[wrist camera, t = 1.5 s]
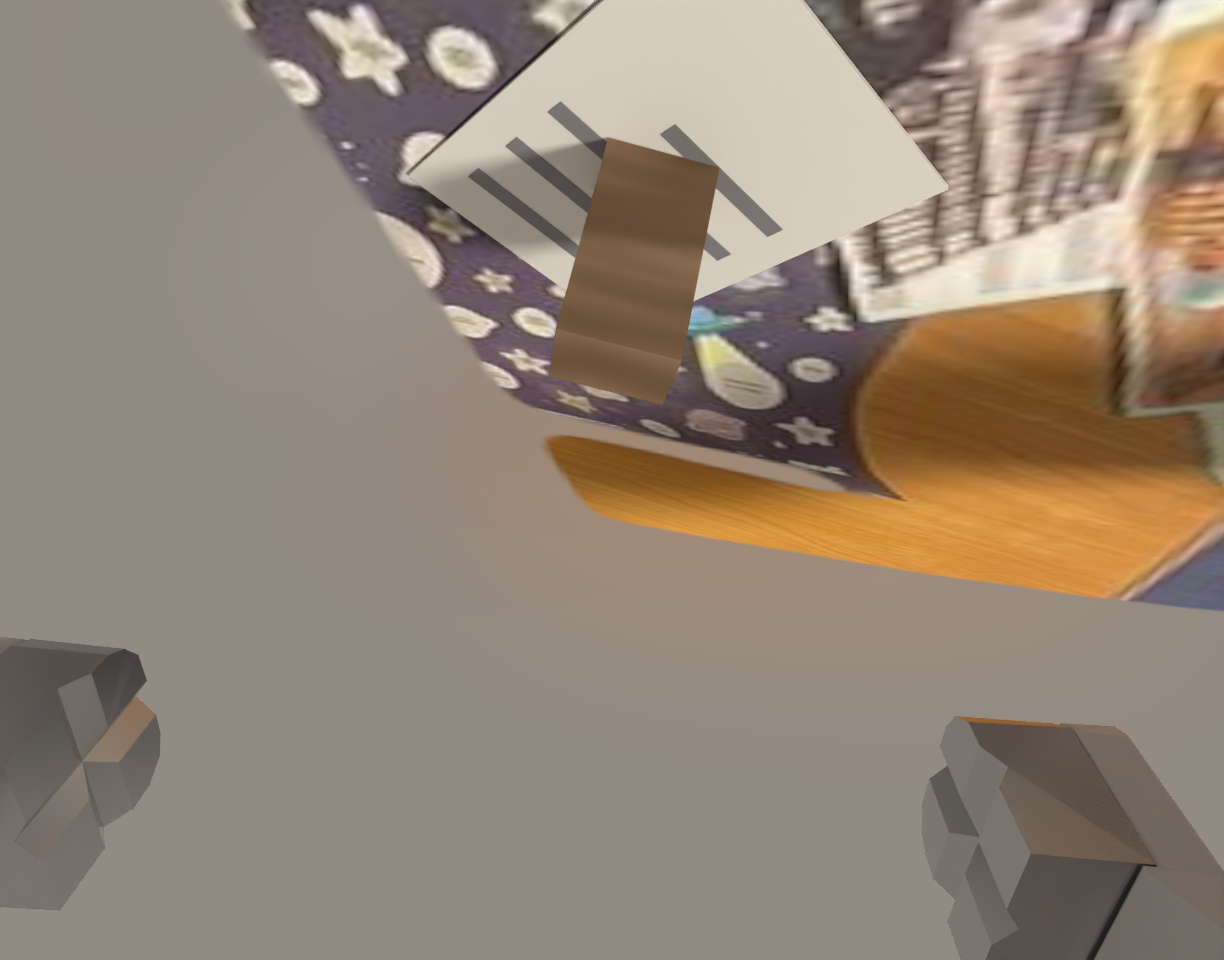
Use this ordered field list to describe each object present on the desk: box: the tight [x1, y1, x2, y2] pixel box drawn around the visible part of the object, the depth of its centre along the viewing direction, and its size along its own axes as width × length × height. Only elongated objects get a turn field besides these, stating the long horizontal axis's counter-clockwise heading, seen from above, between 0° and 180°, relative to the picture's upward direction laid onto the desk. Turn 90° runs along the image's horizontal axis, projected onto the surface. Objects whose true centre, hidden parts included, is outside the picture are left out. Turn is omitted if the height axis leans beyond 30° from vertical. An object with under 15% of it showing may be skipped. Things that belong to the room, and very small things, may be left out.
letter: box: [408, 0, 948, 301], centre depth 29 cm, size 12×16×1 cm
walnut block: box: [549, 138, 720, 405], centre depth 28 cm, size 3×4×8 cm
